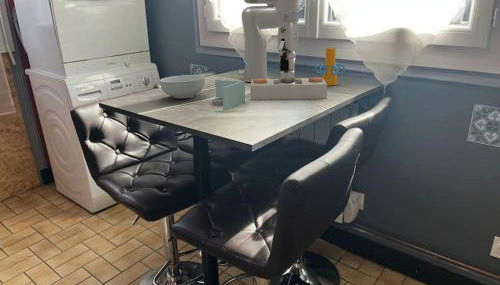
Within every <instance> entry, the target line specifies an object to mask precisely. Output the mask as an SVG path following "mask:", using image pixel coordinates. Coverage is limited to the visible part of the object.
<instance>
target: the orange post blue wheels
mask: <svg viewBox="0 0 500 285" xmlns="http://www.w3.org/2000/svg"><path fill="white" fill-rule="evenodd" d="M336 53H337V50H336V47H326V48H325V61H324V62H325V63H324V64H323V63H318V64H316V66H315V68H314V70H315V72H316V73H317V74H320V75H321V76H322V78H323V80H324V81H325V82H326V83H327V87H330V86H332V87H333V86H336V85H338V75H343V74H344V73H345V71H346V66H345V65H344V64H343V63H338V62H336ZM341 67H342V71H340V70H341ZM318 68H319V69H318ZM322 68H323V70H322Z"/></svg>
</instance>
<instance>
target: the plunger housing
mask: <svg viewBox="0 0 500 285" xmlns="http://www.w3.org/2000/svg"><path fill="white" fill-rule="evenodd" d="M309 78H310V77H309ZM309 78H308V77H304V78H300V77H299V78H295V83H296V84H279V83H280V78H270V79H267V83H262V84H256V83H253V80H252V82H250V86H249V87H250V88H249V89H250V92H249V93H250V101H252V100H253V101H255V100H259V101H261V100H304V99H306V100H310V99H311V100H312V99H313V100H314V99H317V100H318V99H327V97H328V96H327V95H328V86H327V83H326V82H325V81H324V80H323V82H309Z"/></svg>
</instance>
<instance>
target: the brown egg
mask: <svg viewBox="0 0 500 285" xmlns="http://www.w3.org/2000/svg"><path fill="white" fill-rule="evenodd" d="M309 82H323V77H317V76H316V77H315V76H314V77H309Z"/></svg>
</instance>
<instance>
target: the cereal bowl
mask: <svg viewBox="0 0 500 285" xmlns="http://www.w3.org/2000/svg"><path fill="white" fill-rule="evenodd" d="M205 79H206V78H205V76H203V75H198V74H197V75H196V74H182V75H174V76H173V75H172V76H167V77H163V78H160V79H159V85H160V89H161V90H162V92H163V93H165V95H168V96H172V97H173V98H175V99H189V98H193V97H194V96H196V94H198V93H200V92H201V91H203V89H204V87H205V85H206V84H205V83H206V82H205Z"/></svg>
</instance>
